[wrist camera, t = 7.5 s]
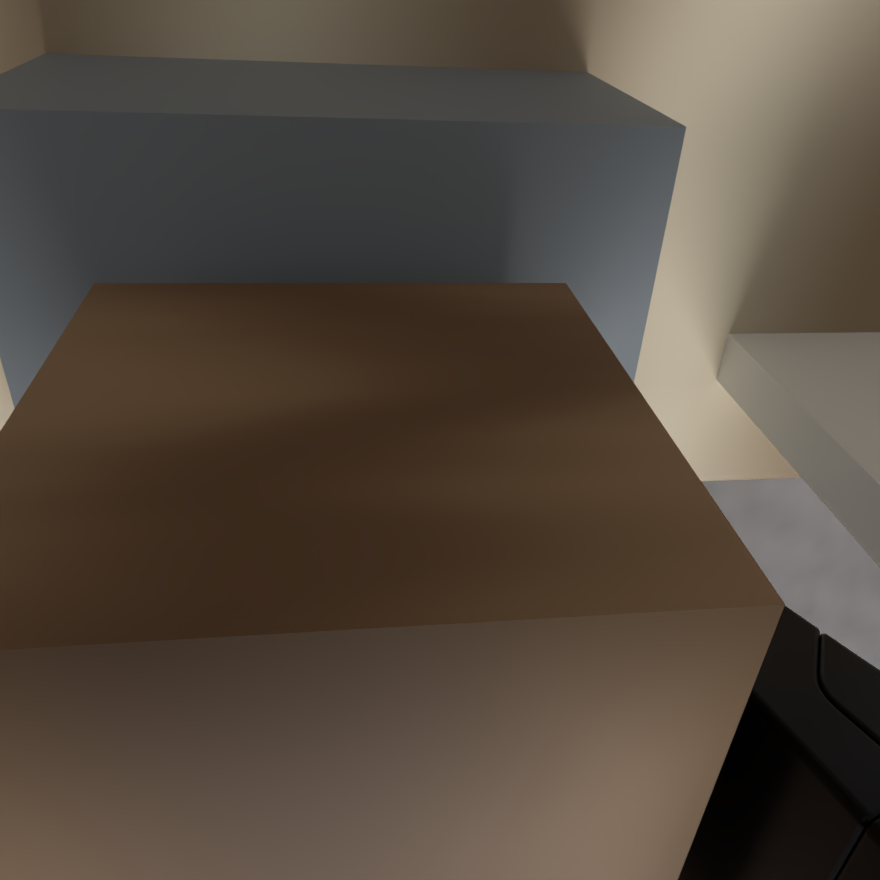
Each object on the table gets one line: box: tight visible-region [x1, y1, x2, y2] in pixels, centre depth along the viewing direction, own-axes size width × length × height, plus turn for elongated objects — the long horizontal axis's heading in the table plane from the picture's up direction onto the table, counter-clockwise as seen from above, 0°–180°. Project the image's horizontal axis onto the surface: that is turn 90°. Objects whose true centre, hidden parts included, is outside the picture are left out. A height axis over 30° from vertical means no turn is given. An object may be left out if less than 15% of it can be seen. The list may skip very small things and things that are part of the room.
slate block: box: [0, 53, 686, 409], centre depth 12 cm, size 8×8×4 cm
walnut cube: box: [0, 283, 785, 880], centre depth 8 cm, size 5×5×5 cm
